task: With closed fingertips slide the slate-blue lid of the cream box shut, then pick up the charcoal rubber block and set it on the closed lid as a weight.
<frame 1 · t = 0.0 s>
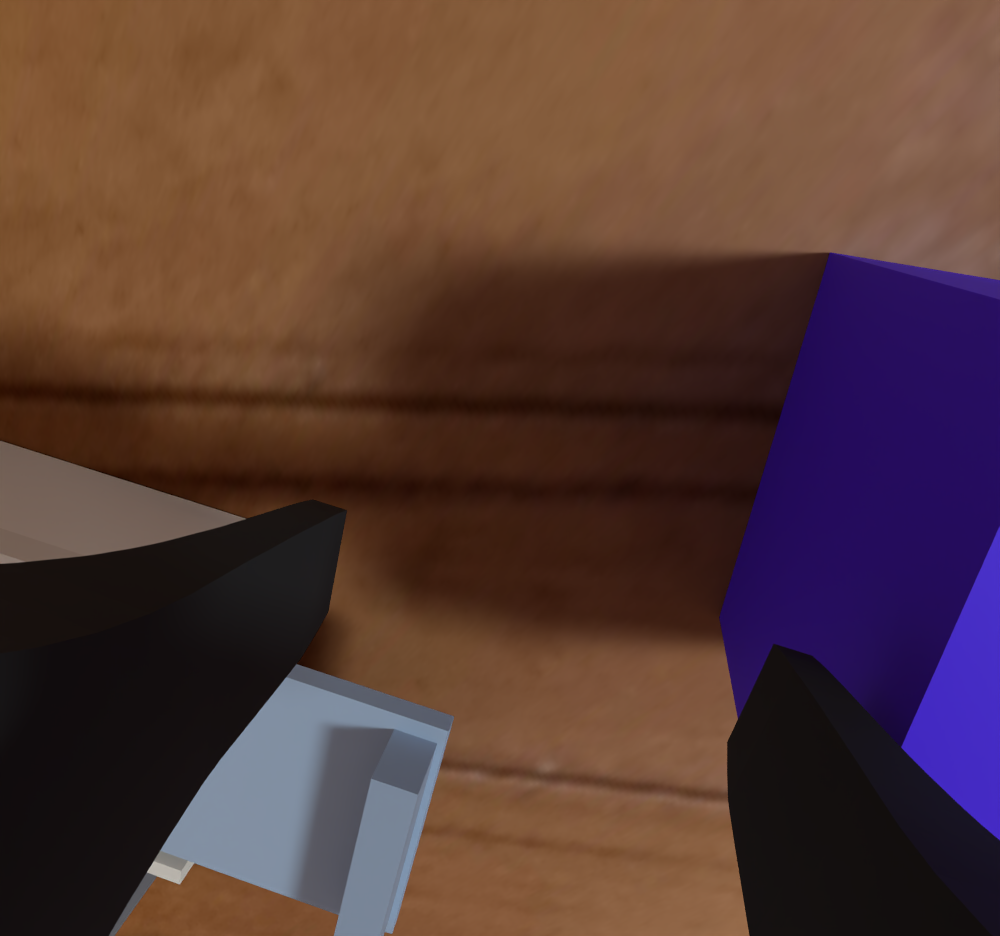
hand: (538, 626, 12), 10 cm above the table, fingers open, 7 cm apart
rubber block: (137, 794, 30), on the table
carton: (124, 605, 26), on the table
lid: (215, 789, 20), point 6 cm above the table, slide at 7.0 cm
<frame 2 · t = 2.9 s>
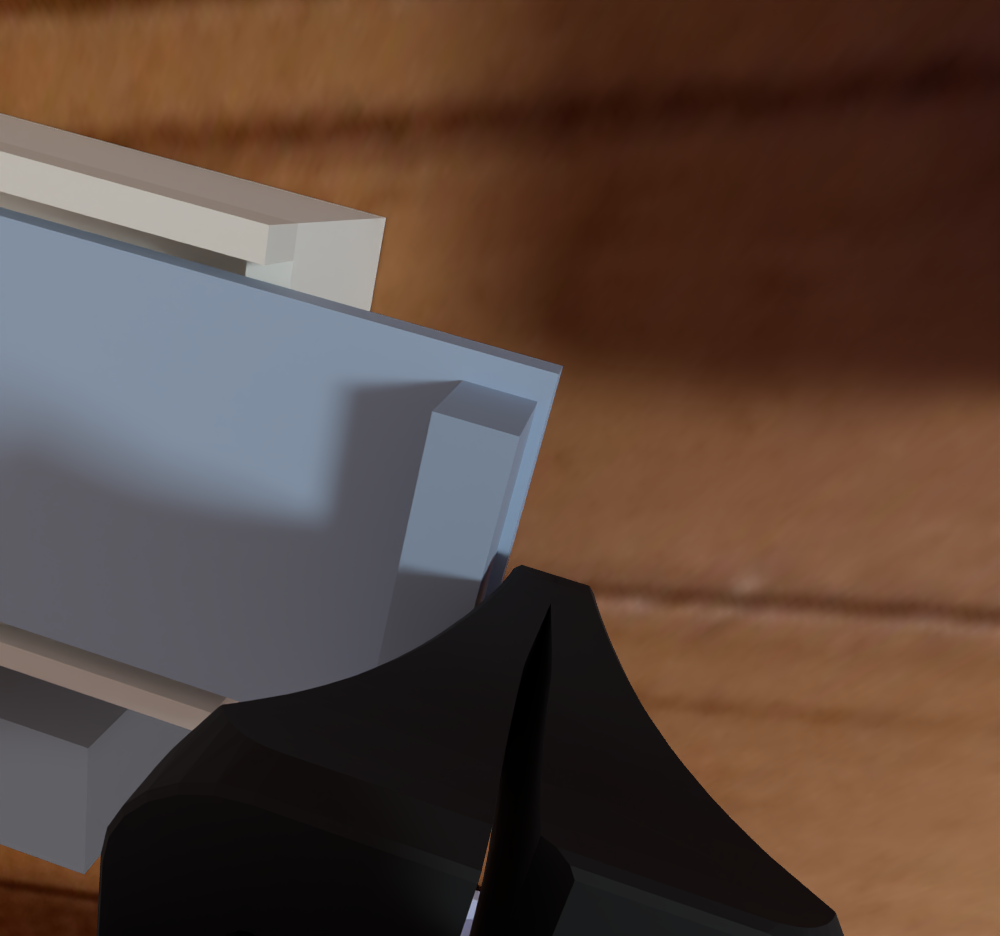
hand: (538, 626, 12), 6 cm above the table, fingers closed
rubber block: (143, 661, 22), on the table
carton: (123, 361, 18), on the table
lid: (162, 512, 12), point 6 cm above the table, slide at 4.9 cm, touching gripper
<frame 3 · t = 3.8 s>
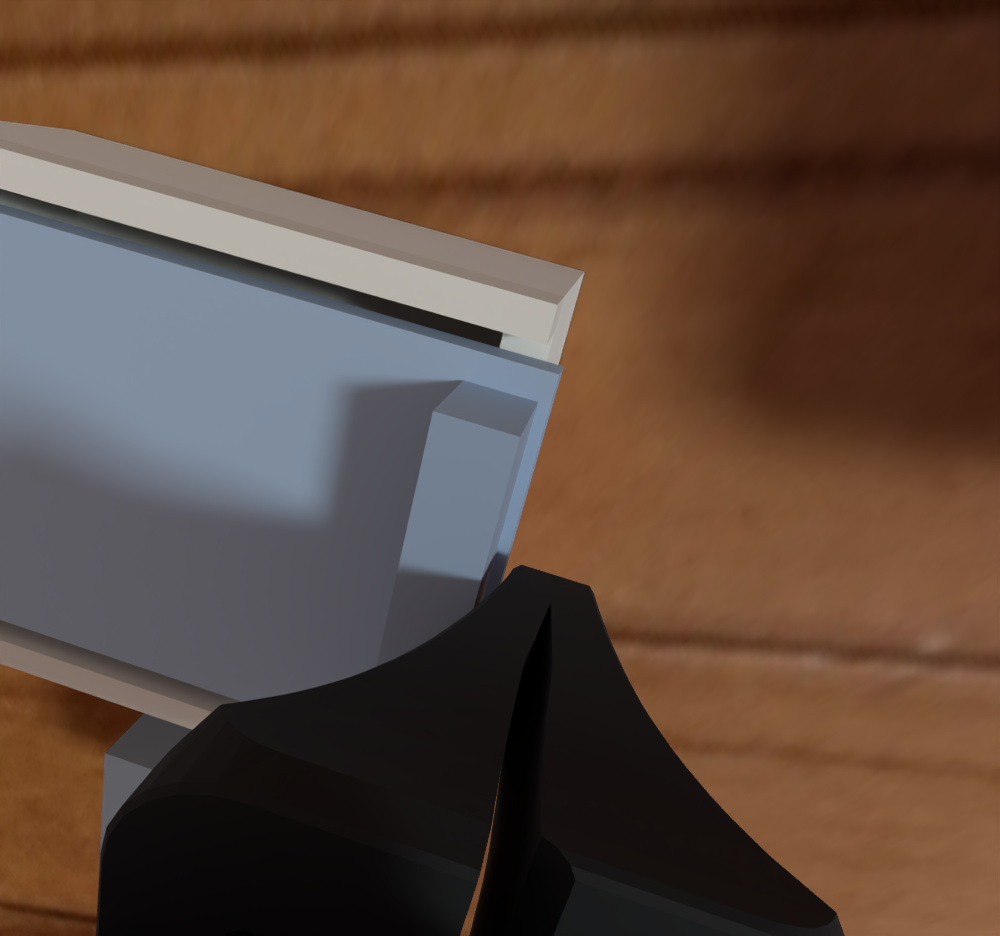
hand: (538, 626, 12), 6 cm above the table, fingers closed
rubber block: (282, 706, 21), on the table
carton: (289, 410, 18), on the table
lid: (162, 510, 12), point 6 cm above the table, slide at 0.5 cm, touching gripper
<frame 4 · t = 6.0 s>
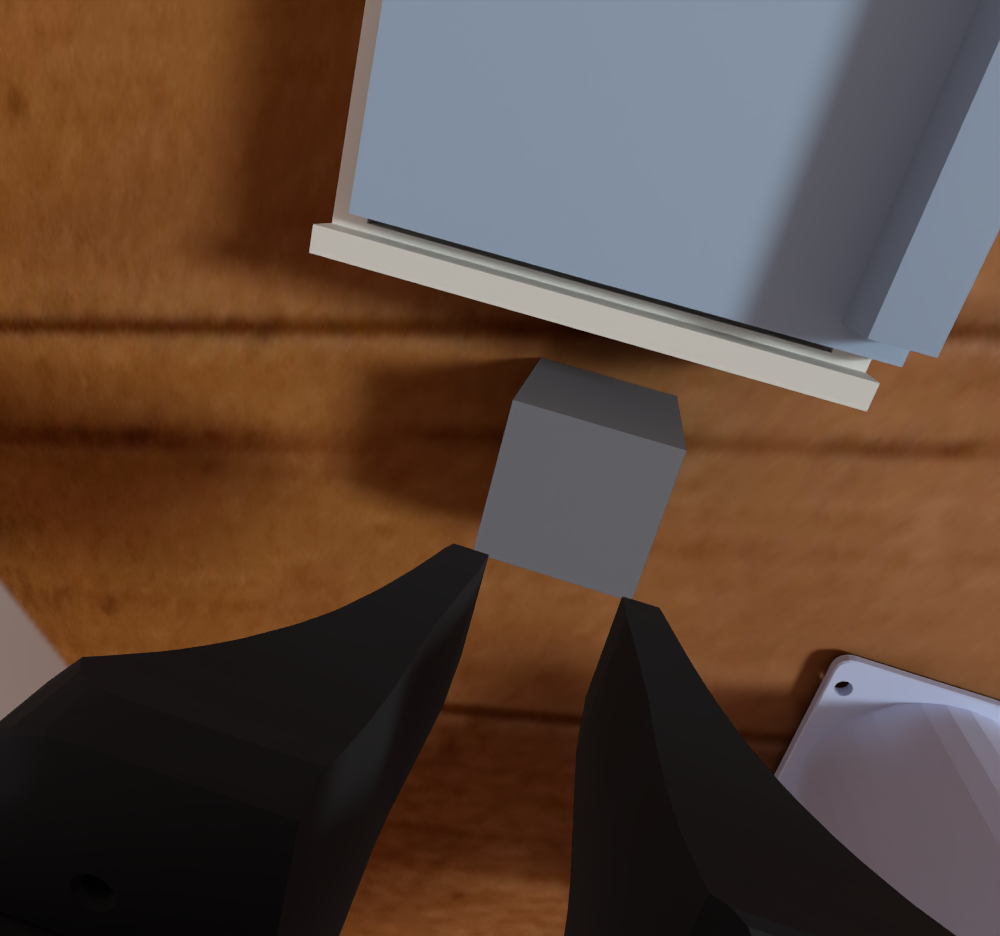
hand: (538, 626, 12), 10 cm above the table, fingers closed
rubber block: (588, 440, 22), on the table
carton: (652, 102, 18), on the table
lid: (683, 65, 13), point 6 cm above the table, slide at 0.5 cm
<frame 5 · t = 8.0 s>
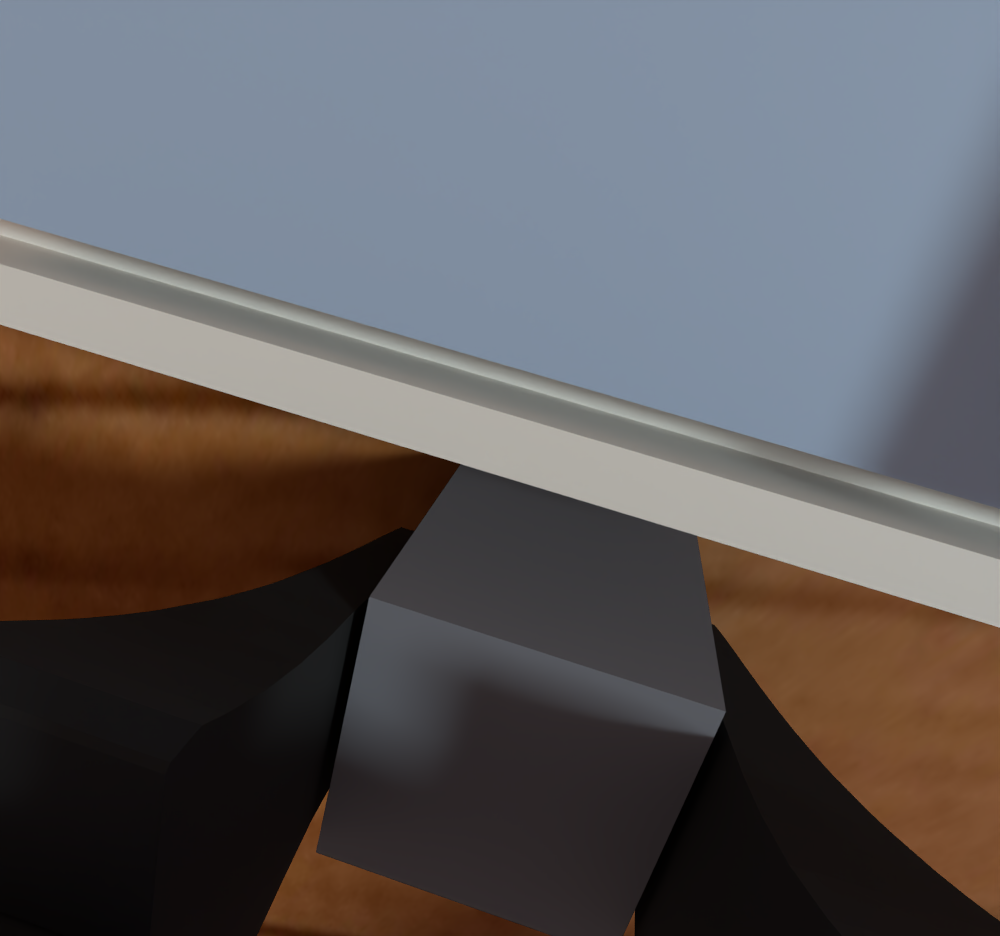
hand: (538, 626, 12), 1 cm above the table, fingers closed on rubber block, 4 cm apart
rubber block: (549, 584, 13), on the table, touching gripper
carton: (653, 8, 10), on the table
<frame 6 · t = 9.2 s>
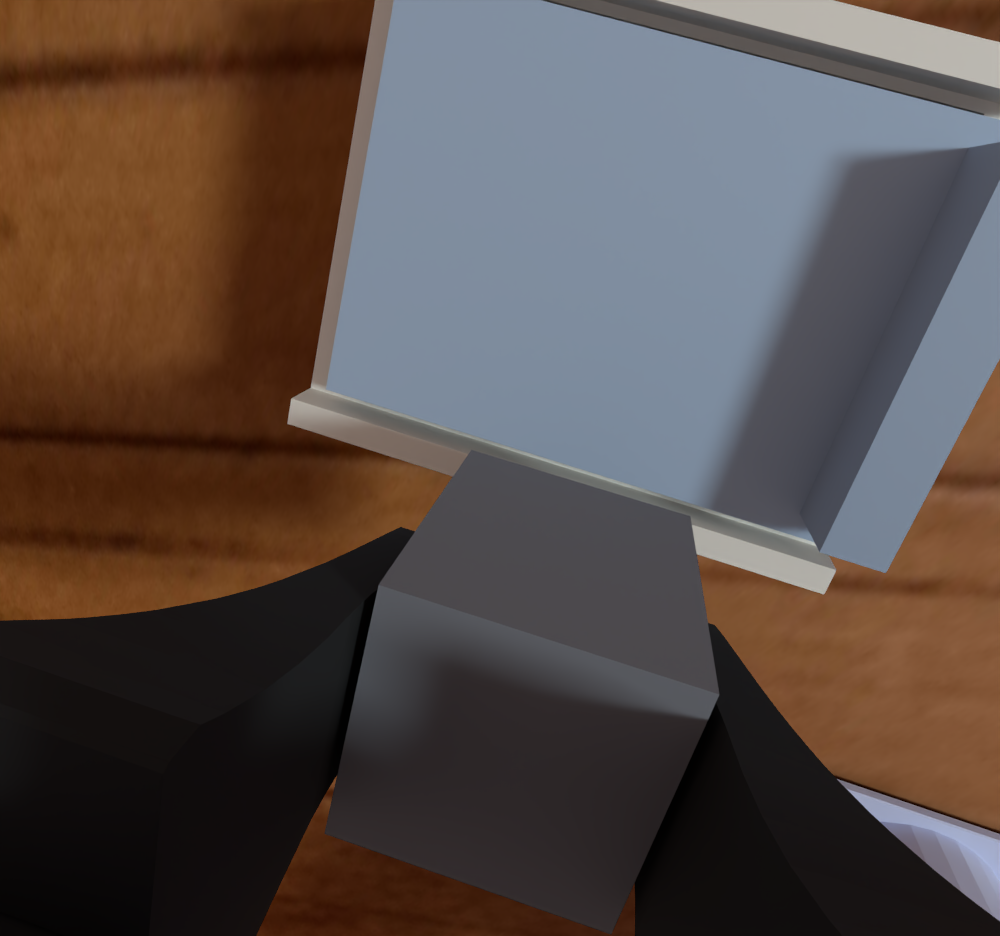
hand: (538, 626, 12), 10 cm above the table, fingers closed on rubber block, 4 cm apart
rubber block: (549, 578, 14), point 8 cm above the table, touching gripper
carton: (626, 256, 19), on the table
lid: (645, 284, 13), point 6 cm above the table, slide at 0.5 cm
when the fingers open (8 cm above the table, at t = 10.3 s): rubber block stays where it is, resting on lid.
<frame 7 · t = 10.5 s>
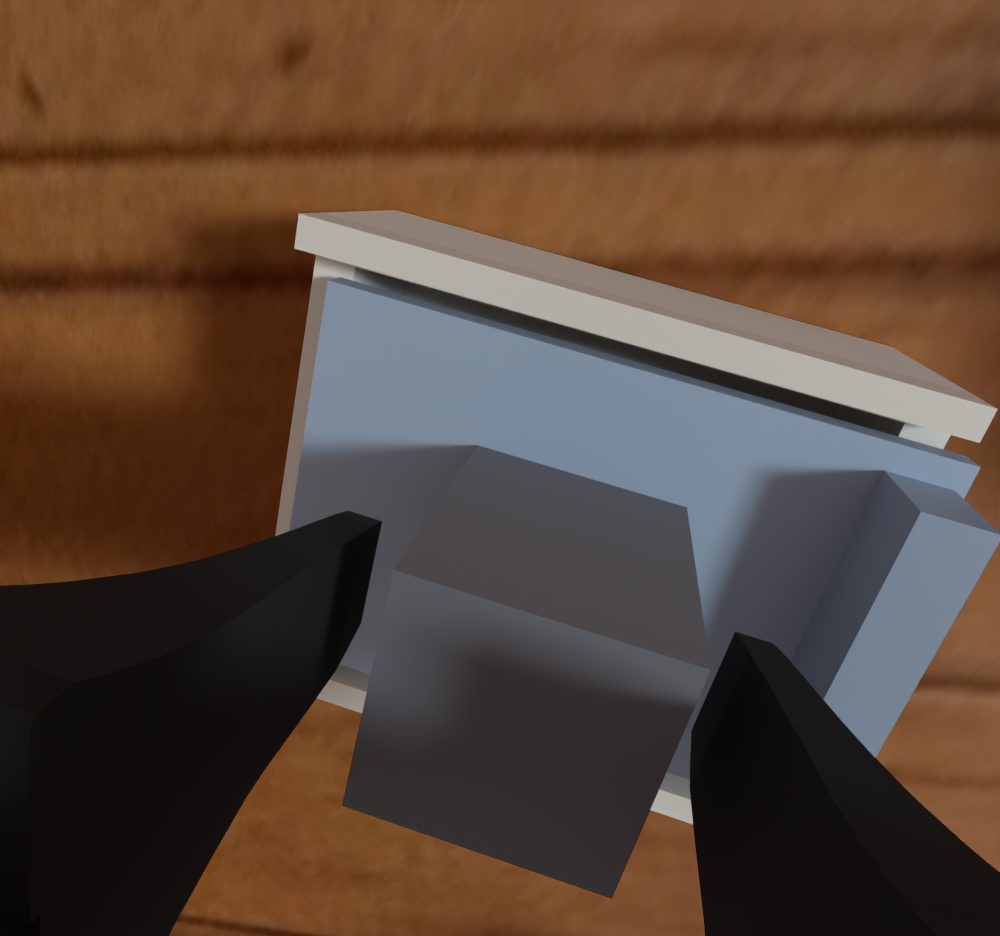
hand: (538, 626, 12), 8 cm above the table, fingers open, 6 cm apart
rubber block: (552, 567, 14), point 5 cm above the table, touching lid
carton: (577, 467, 19), on the table
lid: (574, 581, 14), point 6 cm above the table, slide at 0.5 cm, touching rubber block
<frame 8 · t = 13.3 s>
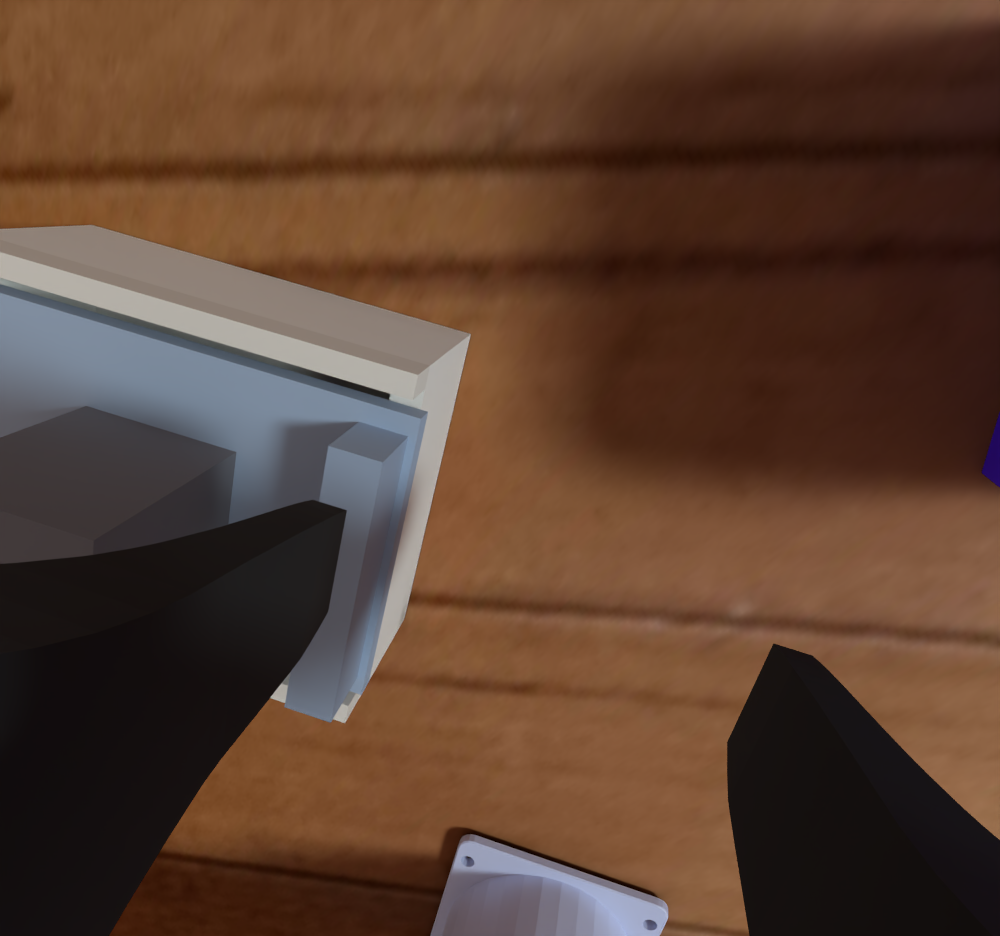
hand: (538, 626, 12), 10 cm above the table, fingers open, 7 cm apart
rubber block: (155, 500, 19), point 5 cm above the table, touching lid
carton: (257, 433, 23), on the table
lid: (158, 508, 18), point 6 cm above the table, slide at 0.5 cm, touching rubber block
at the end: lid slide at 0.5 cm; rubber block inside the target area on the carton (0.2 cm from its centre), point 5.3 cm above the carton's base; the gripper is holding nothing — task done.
